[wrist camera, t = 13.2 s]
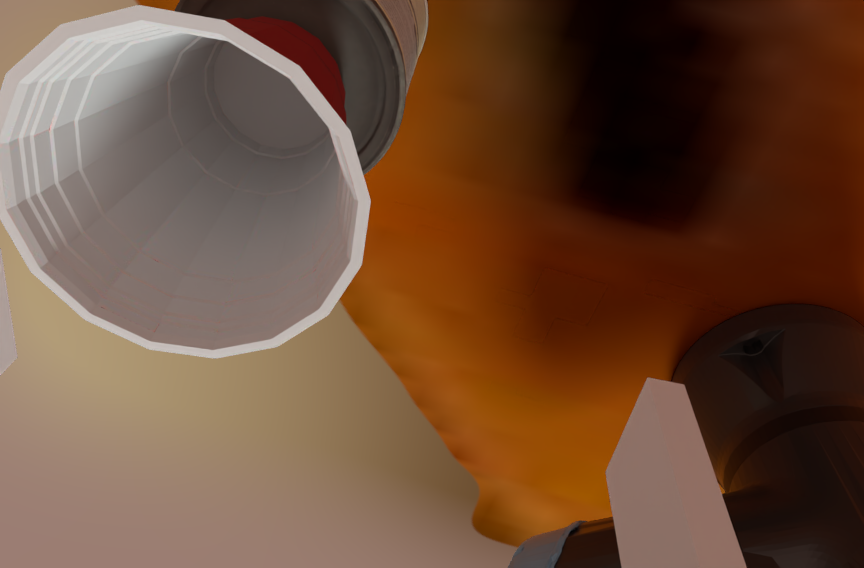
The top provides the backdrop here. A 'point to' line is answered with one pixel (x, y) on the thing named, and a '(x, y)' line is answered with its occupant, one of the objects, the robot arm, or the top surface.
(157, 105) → the plastic cup
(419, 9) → the coffee can
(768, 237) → the top surface
